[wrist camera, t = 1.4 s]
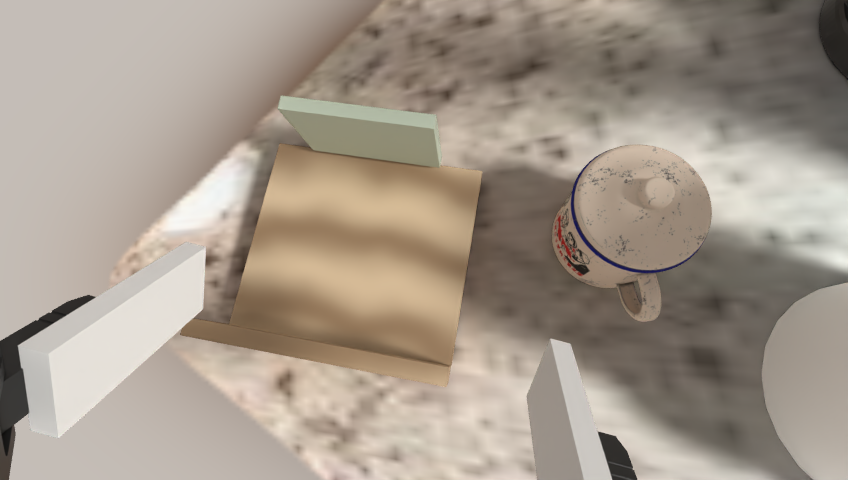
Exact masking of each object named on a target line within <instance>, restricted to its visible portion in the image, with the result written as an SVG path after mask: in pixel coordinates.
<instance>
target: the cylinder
mask: <svg viewBox="0 0 848 480" xmlns="http://www.w3.org/2000/svg"><path fill="white" fill-rule="evenodd" d="M761 376H762V383H763V390H764V398H765V405H766V408H767V410H768V413H769V415H770V418H771V420H772V423H773V425H774V428H775V430H776V433H777V435H778V437H779V439H780V440H781V442H782V443H783V444H784V446H785V447H786V449H787V450H788V452H789V453H790V455H791V456H792V457H793V459H794V460H795V462H796V463H797V465H798V466H799V467H800V468H801V469H802V470H803V471H804V472H805V473H806V474H807V475H809V476H810V477H811V478H812V479H813V480H848V282H847V283H842V284H838V285H834V286H829V287H825V288H821V289H817V290H816V291H814V292H812V293H810V294H809V295H807V296H805V297H803V298H801V299H800V300H798V301H796V302H794V304H793V305H792V306H791V307H790V308H789V309H788V310H787V311H786V312H785V313H784V314H783V315H782V316H781V318H780V319H779V320H778V321H777V322H776V324H775V326H774V328H773V331H772V333H771V335H770V337H769V339H768V341H767V343H766V346H765V351H764V359H763V366H762V373H761Z"/></svg>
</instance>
